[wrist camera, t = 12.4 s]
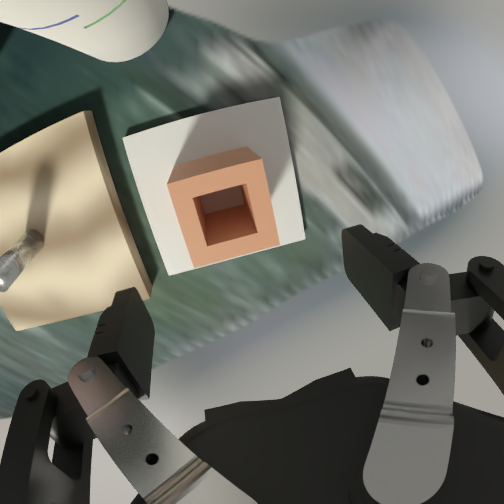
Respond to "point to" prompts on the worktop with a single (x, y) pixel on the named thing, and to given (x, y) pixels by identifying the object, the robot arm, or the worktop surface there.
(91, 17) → the cylindrical container
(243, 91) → the worktop surface
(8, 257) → the post
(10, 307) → the stand base
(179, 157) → the pad
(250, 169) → the collar
